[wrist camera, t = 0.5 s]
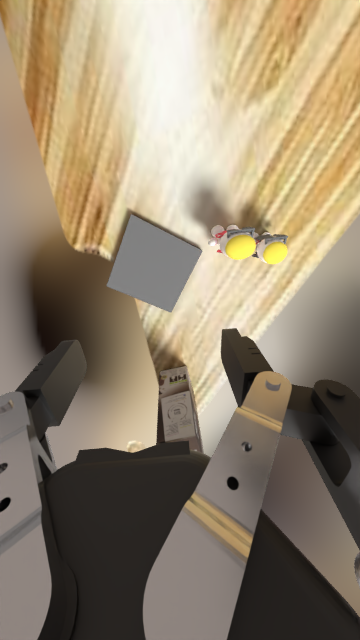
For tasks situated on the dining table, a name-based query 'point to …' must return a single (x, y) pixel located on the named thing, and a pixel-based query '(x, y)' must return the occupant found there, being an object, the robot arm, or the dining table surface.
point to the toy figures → (249, 243)
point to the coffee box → (177, 409)
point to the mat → (152, 264)
